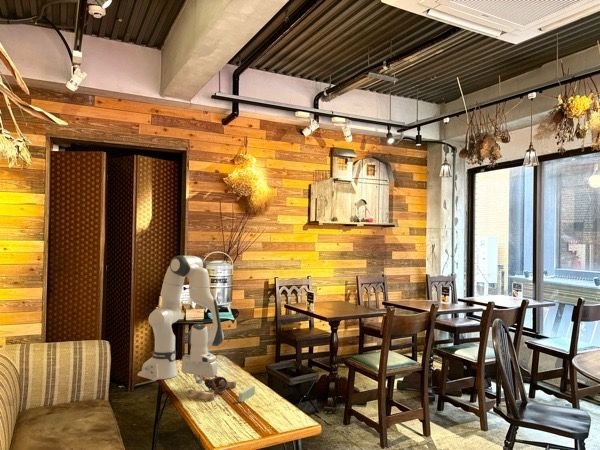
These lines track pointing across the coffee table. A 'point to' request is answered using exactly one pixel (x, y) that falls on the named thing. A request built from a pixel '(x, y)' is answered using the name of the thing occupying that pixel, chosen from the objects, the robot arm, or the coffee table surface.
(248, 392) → the block
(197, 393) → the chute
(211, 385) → the broken brown clay pot
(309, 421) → the coffee table surface
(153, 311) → the robot arm
